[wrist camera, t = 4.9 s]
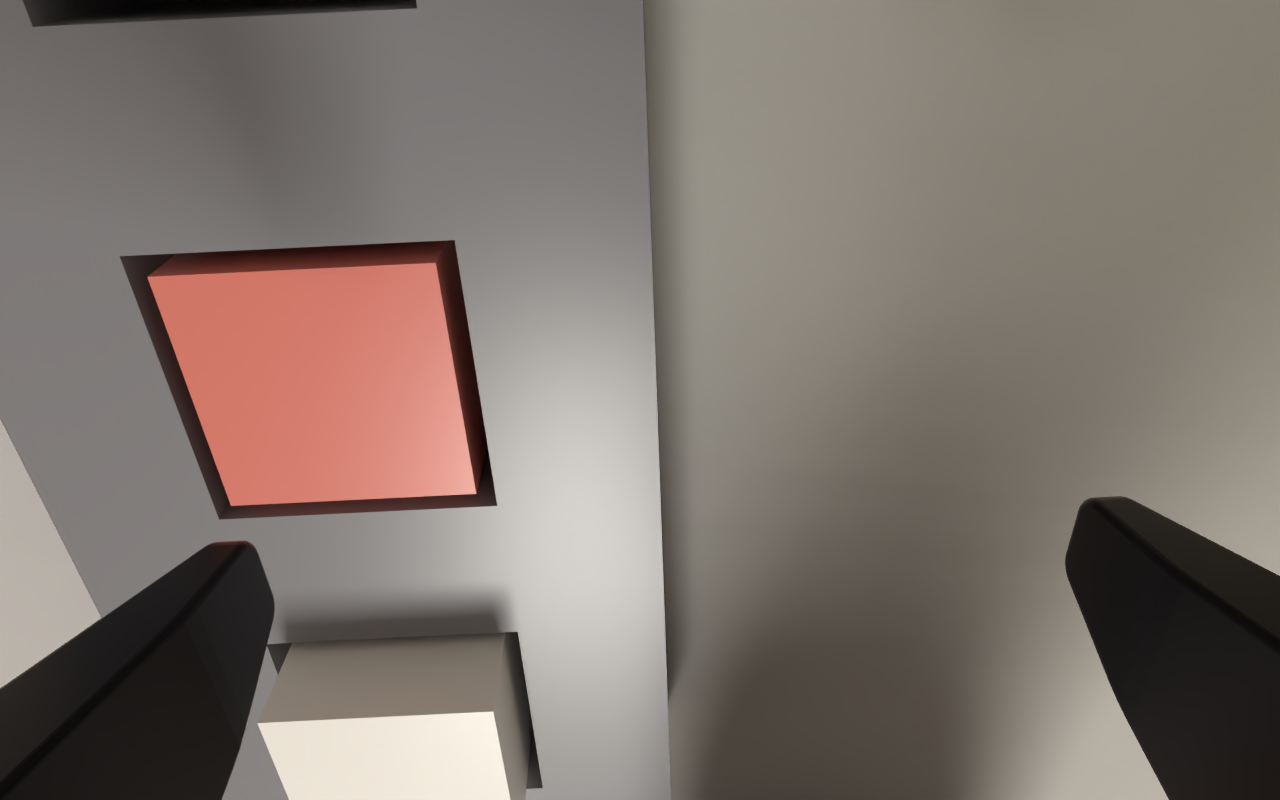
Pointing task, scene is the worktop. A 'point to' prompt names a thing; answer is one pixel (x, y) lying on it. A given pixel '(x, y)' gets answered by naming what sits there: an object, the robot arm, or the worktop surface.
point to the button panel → (354, 215)
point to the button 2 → (401, 719)
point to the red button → (329, 369)
